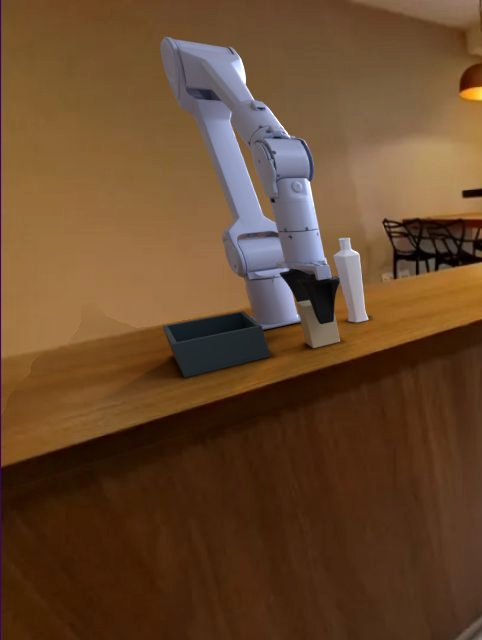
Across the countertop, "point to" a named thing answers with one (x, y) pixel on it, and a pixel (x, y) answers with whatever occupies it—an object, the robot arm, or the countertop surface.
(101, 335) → the countertop surface
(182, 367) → the bin
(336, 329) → the juice carton
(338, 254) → the perfume bottle
